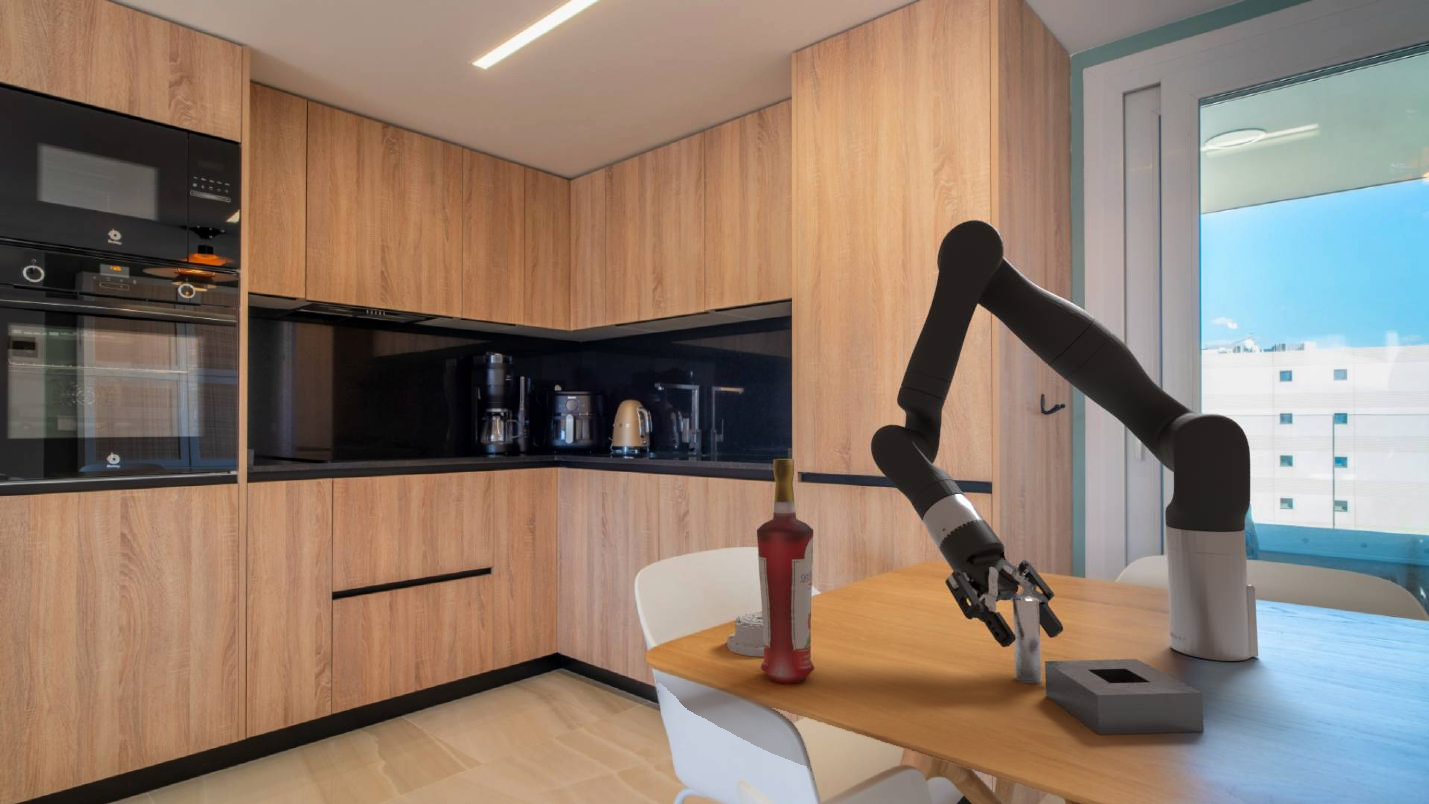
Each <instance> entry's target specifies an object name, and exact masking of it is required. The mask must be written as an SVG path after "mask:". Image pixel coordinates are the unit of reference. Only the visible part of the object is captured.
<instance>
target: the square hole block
mask: <svg viewBox="0 0 1429 804" xmlns="http://www.w3.org/2000/svg"><path fill="white" fill-rule="evenodd" d="M1044 670H1045V671H1044V672H1045V675H1044V676H1045V696H1046V697H1047V698H1049V699H1050V700H1052V701H1053V702H1054V703H1055V704H1057V705H1058V706H1060V708H1063V710H1065V711H1066V712H1067V713H1069V714H1070V715H1072V716H1073V717H1075V719H1077V720H1079V721H1080V722H1081V723H1083V724H1084V725H1085V726H1086V727H1088V728H1089V729H1090V730H1092V731H1093V732H1095V733H1096V734H1097V735H1099V736H1100V735H1102V736H1104V735H1105V736H1107V735H1110V736H1111V735H1138V734H1140V735H1141V734H1168V733H1170V734H1174V733H1175V734H1177V733H1204V732H1205V731H1204V707H1203V692H1202V691H1200V690H1198V689H1196V688H1195V687H1192V686H1190V685H1189V684H1186V683H1184V682H1182V681H1180V680H1179V679H1176V678H1175V677H1172V676H1170V675H1168V674H1166V673H1164V672H1163V671H1161V670H1158V669H1157V668H1155V667H1153V666H1151V665H1149V664H1147V663H1145V662H1143V661H1141V660H1138V659H1137V658H1125V659H1124V658H1123V659H1122V658H1120V659H1119V658H1118V659H1084V660H1081V659H1080V660H1079V659H1078V660H1077V659H1076V660H1045V661H1044Z"/></svg>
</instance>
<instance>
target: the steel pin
mask: <svg viewBox="0 0 1429 804" xmlns="http://www.w3.org/2000/svg"><path fill="white" fill-rule="evenodd" d="M1012 609H1013V610H1012V611H1013V613H1012V614H1013V633H1014V634H1015V636H1016V640H1015V641H1014V642H1013V643H1014V647H1013V648H1014V669H1015V670H1014V673H1015V678H1014V679H1015V680H1016V681H1018V682H1020V683H1023V684H1030V685H1031V684H1033V685H1034V684H1036V685H1037V684H1041V683H1042V660H1041V659H1042V657H1041V654H1042V653H1041V631H1040V630H1041V629H1040V627H1041V625H1040V623H1039V600H1038V599H1036V598H1032V597H1031V596H1027V597H1014V598H1013V602H1012Z"/></svg>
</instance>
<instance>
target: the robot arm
mask: <svg viewBox="0 0 1429 804" xmlns="http://www.w3.org/2000/svg"><path fill="white" fill-rule="evenodd" d="M1004 250H1005V246H1004V240H1003V239H1002V236H1001V234H1000V233H999V231H998V229H996V228H995V226H993V225H992V224H990V223H989V222H987V221H983V220H978V219H972V220H966V221H963V222H960V223H958V224H957V225H955V226H954V227H952V228H951V229H950V230H949V232H947V233H946V234H945V236H944V238H942V240H941V244H940V246H939V250H938V254H937V259H936V260H937V261H936V262H937V269H938V272H937V273H938V275H937V280H936V281H937V282H936V285H935V288H934V289H935V290H934V293H933V296H932V301H931V305H930V308H929V309H928V310H929V311H928V313H927V315H926V318H925V321H924V324H923V325H922V329H921V331H920V334H919V335H918V338H917V341H916V343H915V346H914V348H913V350H912V353H911V356H910V358H909V361H908V363H907V366H906V368H905V373H904V375H903V378H902V380H901V384H900V387H899V389H898V393H897V396H896V397H897V399H896V403H897V405H898V407H899V408H900V409H902V410H903V411H904V413H905V423H904V426H903V425H898V424H887V425H883V426H882V427H879V429H877V430H876V431H875V433H874V434H873V436H872V438H871V442H870V451H871V452H870V453H871V456H872V459H873V461H874V464H876V467H878V469H879V471H880V472H881V474H883V475H884V476H885V477H886V479H888V480H889V482H890V483H891V484H893V486H894V487H895V488H896V489H897V490H898V491H899V492H900V493H901V494H902V495H904V497H906V498H907V499H908V501H909V502H910V503H911V505H912V507H913V509H914V510H915V512H916V513H917V515H918V517H919V518H920V520H921V522H922V523H923V524H924V526H925V528H926V530H927V532H928V535H929V536H930V537H931V539H932V540H933V543H934V544H935V545H936V547H937V548H938V550H939V552H940V553H941V555H942V556H943V557H944V559H945V561H946V562H947V563H948V565H949V566H950V568H951V569H952V572H951V574H950V575H949V576H948V577H947V579H945V584H946V586H947V588H948V590H949V592H950V594H951V595H952V597H953V598H954V599H955V602H956V603H957V605H958V607H959V608H960V610H961V612H962V613H963V615H964V617H965V618H966V619H967V620H973V619H978V620H979V621H980V622H982V623H984V624H985V626H986V627H987V629H988V630H989V632H990V634H991V635H992V637H993V638H994V640H995V641H996V642H997V643H998V644H999V645H1000V646H1001V647H1003V648H1007V647H1010V646H1011V645H1013V643H1014V641H1015V640H1016V636H1015V634H1014V631H1013V630H1012V629H1011V627H1010V626H1009V624H1008V622H1007V621H1006V620H1005V619H1004V617H1003V616H1002V614H1001V612H1000V611H997V602H999V601H1006V602H1007V601H1011V602H1012V603H1013V598H1014V597H1032V598H1036V599H1038V600H1039V623H1040V627H1041V628H1042V629H1043V631H1044V632H1045V633H1046V635H1047V636H1048V637H1049V638H1050V639H1053V638H1056V637H1058V636H1059V635H1060V634H1061V633H1063V632H1064V627H1063V624H1062V622H1061V621H1060V619H1059V618H1058V617H1057V615H1056V614H1055V612H1054V611H1053V610H1052V608H1051V607H1050V606H1049V605H1050V604H1049V601H1051V600H1052V599H1053V598H1054V597H1055V594H1054V591H1053V590H1052V589H1051V588H1050V587H1049V585H1048V584H1047V583H1046V582H1045V581H1044V579H1043V578H1042V577H1041V575H1039V573H1038V572H1037V571H1036V570H1035V567H1033V566H1032V564H1031V562H1029V561H1028V560H1026V559H1022V561H1021V562H1020V563H1019V564H1015V565H1014V564H1012V563H1011V562H1010V561H1008V559H1006V555H1005V554H1006V553H1005V546H1004V543H1003V542H1002V540H1001V539H1000V538H999V536H997V534H996V533H995V531H994V530H993V528H992V527H991V526H990V524H989V523H988V521H986V519H985V518H984V516H983V515H982V513H980V511H979V510H978V508H977V507H976V506H975V505H974V504H973V503H972V502H971V501H970V500H969V499H968V498H967V496H966V495H965V494H964V492H963V491H962V490H961V488H960V487H959V486H958V484H957V483H956V481H955V480H954V479H953V477H952V476H951V475H950V474H949V473H948V472H946V471H945V469H942V468H940V467H939V466H936V465H935V464H934V463H935V461H936V458H937V455H938V452H939V447H940V443H941V442H940V441H941V429H942V421H943V420H942V418H943V417H942V415H943V409H944V405H945V403H946V400H947V397H948V394H949V391H950V390H951V389H950V388H951V385H952V382H953V379H954V376H955V373H956V370H957V366H958V363H959V360H960V356H961V352H962V349H963V347H964V346H963V345H964V343H965V339H966V336H967V333H968V330H969V327H970V324H971V321H972V319H973V316H974V313H975V311H976V308H977V306H978V305H979V306H981V307H982V308H984V309H986V311H988V312H989V313H990V314H992V315H993V316H995V317H996V318H997V319H998V320H999V321H1000V322H1001V323H1003V325H1005V326H1006V327H1007V328H1008V329H1009V331H1010V332H1012V333H1013V334H1014V335H1015V336H1016V337H1017V338H1018V339H1019V340H1020V341H1021V342H1022V343H1023V344H1024V345H1025V346H1026V347H1027V348H1029V349H1030V350H1031V351H1032V352H1033V353H1035V355H1037V357H1038V358H1040V359H1041V361H1043V362H1044V363H1045V364H1046V365H1047V366H1049V368H1051V369H1052V370H1054V372H1056V374H1058V375H1059V376H1061V377H1062V378H1063V379H1064V380H1065V381H1066V382H1068V383H1069V384H1071V385H1072V386H1073V387H1075V388H1076V390H1078V391H1079V392H1080V393H1082V394H1084V396H1086V397H1087V398H1089V399H1090V400H1091V401H1093V402H1094V403H1095V404H1097V405H1098V406H1100V407H1101V408H1102V409H1104V410H1105V411H1106V412H1108V413H1109V414H1111V415H1112V416H1114V418H1116V419H1117V420H1118V421H1120V422H1121V424H1122V425H1124V426H1125V427H1126V428H1127V429H1128V430H1129V431H1130V432H1131V433H1132V434H1133V435H1134V436H1135V437H1136V438H1137V439H1138V440H1139V442H1141V443H1142V445H1144V446H1145V448H1147V450H1148V451H1150V453H1151V454H1152V455H1153V456H1154V457H1155V458H1156V459H1157V460H1158V461H1159V462H1160V463H1161V464H1162V465H1163V466H1164V467H1165V468H1166V469H1168V470H1170V471H1171V472H1173V493H1172V494H1173V495H1172V498H1171V501H1170V503H1169V504H1167V506H1166V508H1165V511H1164V514H1165V515H1164V516H1165V519H1164V520H1165V533H1166V534H1165V537H1166V539H1165V541H1166V558H1167V559H1166V560H1167V564H1166V565H1167V583H1168V589H1167V590H1168V605H1169V606H1168V608H1169V609H1168V610H1169V635H1170V647H1171V648H1172V649H1173V650H1175V651H1177V652H1179V653H1181V654H1184V655H1187V656H1191V657H1196V658H1202V659H1206V660H1212V661H1213V660H1214V661H1223V662H1224V661H1225V662H1239V661H1246V660H1248V659H1250V658H1254V657H1257V658H1258V657H1259V638H1258V625H1257V624H1258V623H1257V600H1256V587H1255V586H1254V585H1252V584H1250V583H1248V567H1247V565H1248V564H1247V548H1246V546H1247V545H1246V543H1247V542H1246V516H1247V514H1248V512H1249V509H1250V505H1251V451H1250V445H1249V440H1248V438H1247V435H1246V433H1245V431H1244V429H1243V428H1242V427H1241V426H1240V424H1239V423H1237V422H1236V421H1235V420H1234V419H1232V418H1230V417H1228V416H1226V415H1224V414H1219V413H1211V412H1210V413H1208V412H1207V413H1205V412H1204V413H1196V412H1194V411H1193V410H1191V409H1190V408H1188V406H1186V405H1183V404H1182V403H1180V402H1179V401H1178V400H1177V399H1175V398H1174V397H1172V396H1171V395H1170V394H1169V393H1167V392H1166V391H1165V390H1163V389H1162V388H1161V387H1160V386H1158V384H1156V383H1155V382H1154V381H1153V380H1152V378H1151V377H1150V376H1149V375H1148V374H1147V372H1146V371H1145V369H1144V368H1143V366H1142V365H1141V364H1140V362H1139V361H1138V359H1137V358H1136V356H1135V355H1134V354H1133V353H1132V351H1131V350H1130V349H1129V347H1128V346H1127V344H1125V342H1123V340H1122V339H1120V338H1119V337H1118V336H1117V334H1115V333H1114V332H1113V331H1112V330H1111V329H1109V328H1108V327H1107V326H1106V325H1104V324H1103V323H1102V322H1101V321H1100V320H1098V319H1097V318H1095V316H1093V315H1092V314H1090V313H1089V312H1087V311H1086V310H1085V309H1083V308H1082V307H1079V306H1078V305H1076V304H1075V303H1072V302H1071V301H1069V300H1067V299H1066V298H1063V297H1061V296H1058V295H1056V294H1055V293H1052V292H1050V291H1048V290H1046V289H1045V288H1042V287H1040V286H1039V285H1036V283H1033V282H1032V281H1031V280H1029V278H1027V277H1026V276H1025V275H1024V274H1022V273H1021V272H1020V271H1019V270H1018V269H1017V268H1015V267H1014V266H1013V264H1011V262H1009V261H1008V260H1007V259H1006V258H1005V257H1004V254H1005V251H1004ZM1019 587H1021V588H1022V589H1021V590H1020V591H1019ZM1037 588H1038V589H1039V590H1040V591H1041V592H1042V593H1041V592H1040V591H1038V590H1037ZM968 601H969V603H970V604H969V603H968ZM996 611H997V612H996Z"/></svg>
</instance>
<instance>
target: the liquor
mask: <svg viewBox="0 0 1429 804" xmlns="http://www.w3.org/2000/svg"><path fill="white" fill-rule="evenodd" d="M772 463H773V475H774V476H773V477H774V482H775V487H774V501H773V502H774V503H773V515H772V517H773V518H771V519H770V520H768V521H765V522H764V523H763V524H761V525H760V526H759V527H758V528H757V529H756V540H757V557H758V559H757V560H758V574H759V575H758V576H759V586H760V601H761V613H762V620H763V641H764V657H763V661H762V663H761V665H760V669H761V670H762V672H763V673H765V675H766V676H768V677H769V679H770V680H771V681H772V682H776V683H779V684H787V685H789V684H798V683H802V682H803V681H805V680H806V679H807V677H809V675H811V673H813V672H814V670H815V665H814V664H813V661H812V660H811V658H812V657H811V654H812V651H811V650H812V648H811V647H812V646H811V645H812V644H811V643H812V640H811V639H812V638H811V637H812V633H811V631H812V593H813V570H814V568H813V566H814V529H813V528H812V527H811V526H810V525H809V524H807V523H806V522H804V521H802V520H799V519H797V514H796V512H797V511H796V503H795V494H794V486H793V480H794V474H795V459H794V458H776V459H775V458H774V459H773V462H772Z"/></svg>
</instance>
